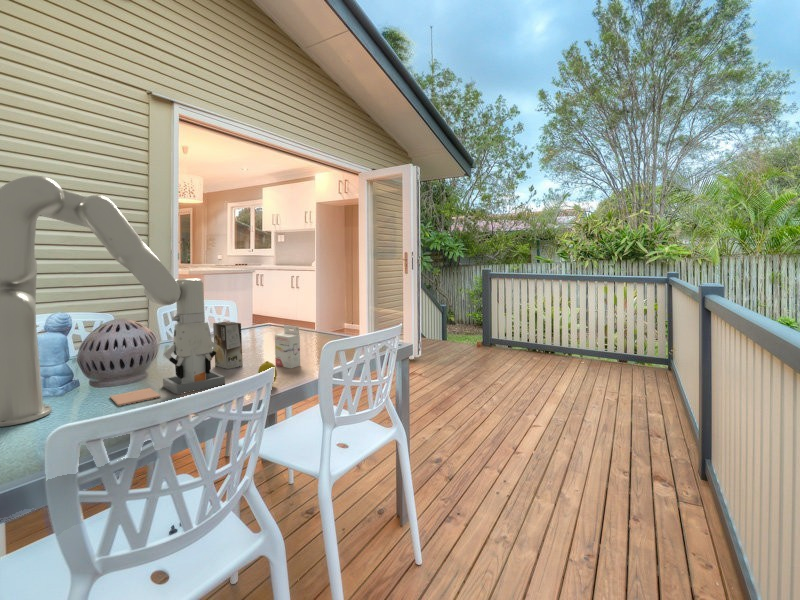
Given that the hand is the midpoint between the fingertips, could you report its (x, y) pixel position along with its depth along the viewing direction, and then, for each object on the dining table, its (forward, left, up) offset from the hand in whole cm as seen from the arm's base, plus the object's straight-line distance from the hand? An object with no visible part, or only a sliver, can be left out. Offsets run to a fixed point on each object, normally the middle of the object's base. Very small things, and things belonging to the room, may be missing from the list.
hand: (193, 374), depth 126 cm
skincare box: (0, 0, -4) cm, 4 cm away
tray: (0, 0, -3) cm, 3 cm away
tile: (-16, 0, -3) cm, 16 cm away
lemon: (+15, -18, -4) cm, 24 cm away
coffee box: (+18, +16, -4) cm, 24 cm away
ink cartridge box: (+33, 0, -4) cm, 33 cm away
